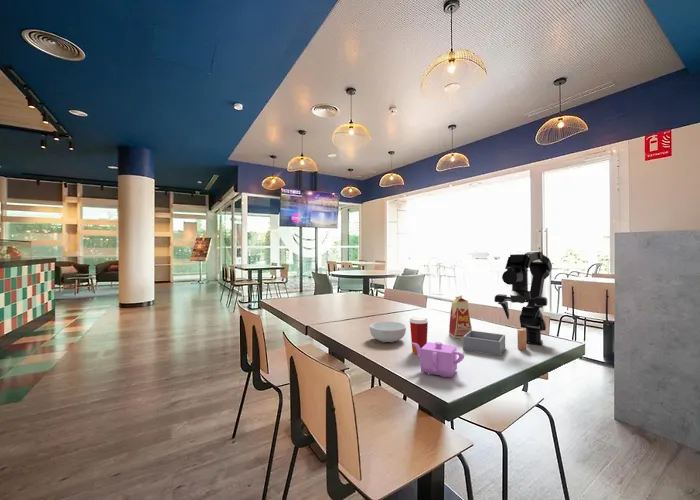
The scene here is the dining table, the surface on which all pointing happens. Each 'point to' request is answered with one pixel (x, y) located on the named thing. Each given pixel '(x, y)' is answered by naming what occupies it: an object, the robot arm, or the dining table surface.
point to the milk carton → (459, 318)
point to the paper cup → (418, 331)
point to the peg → (522, 339)
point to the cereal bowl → (387, 331)
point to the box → (484, 342)
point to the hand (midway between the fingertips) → (520, 320)
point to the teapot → (439, 358)
